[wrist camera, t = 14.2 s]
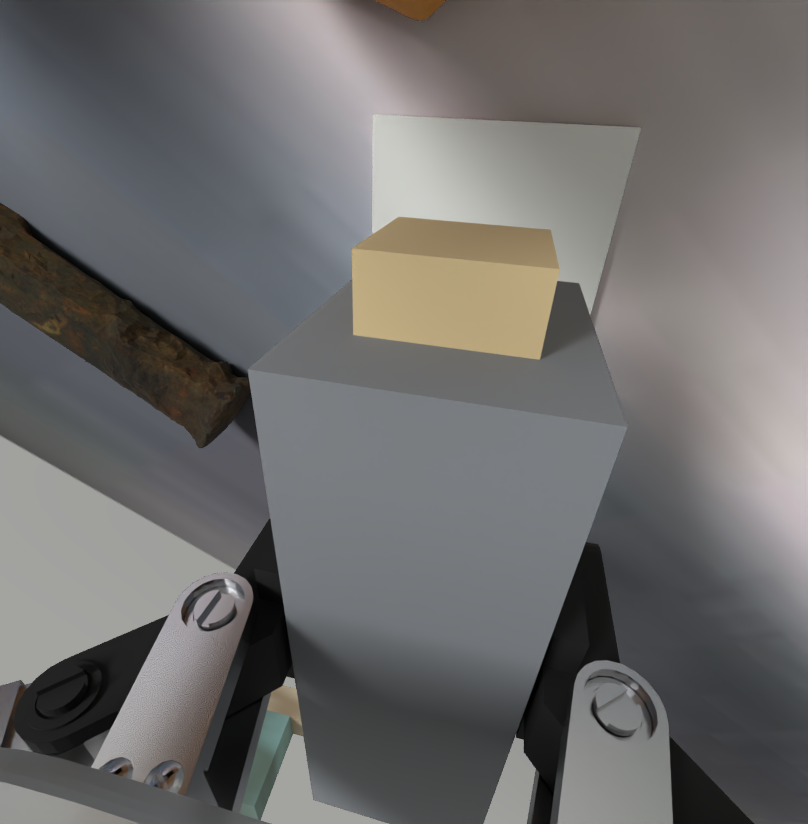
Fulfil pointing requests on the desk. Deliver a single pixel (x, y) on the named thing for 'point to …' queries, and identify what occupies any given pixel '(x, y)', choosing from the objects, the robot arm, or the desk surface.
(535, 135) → the mat
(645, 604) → the desk surface
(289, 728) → the wooden arch block
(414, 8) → the coffee package
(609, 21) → the desk surface
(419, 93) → the desk surface
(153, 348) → the hand tool
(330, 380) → the grey block with cap
